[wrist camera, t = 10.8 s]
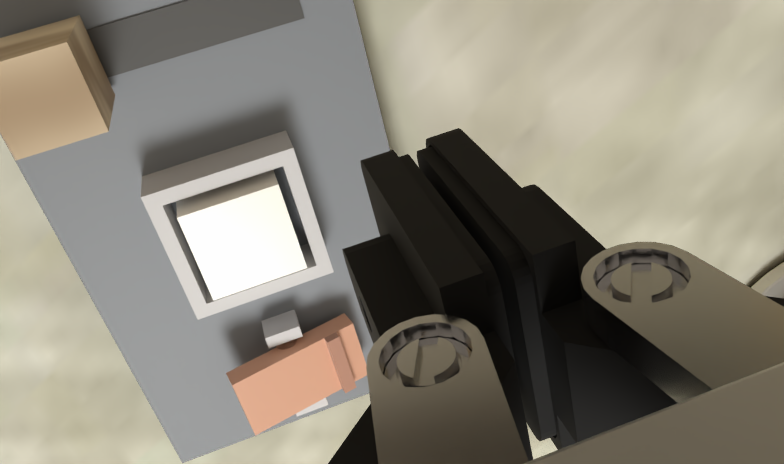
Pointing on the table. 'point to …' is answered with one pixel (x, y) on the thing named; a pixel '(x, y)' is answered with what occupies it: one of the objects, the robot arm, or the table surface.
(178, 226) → the switch panel
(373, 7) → the table surface
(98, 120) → the slider knob
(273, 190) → the push button
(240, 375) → the rocker paddle
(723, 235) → the table surface
